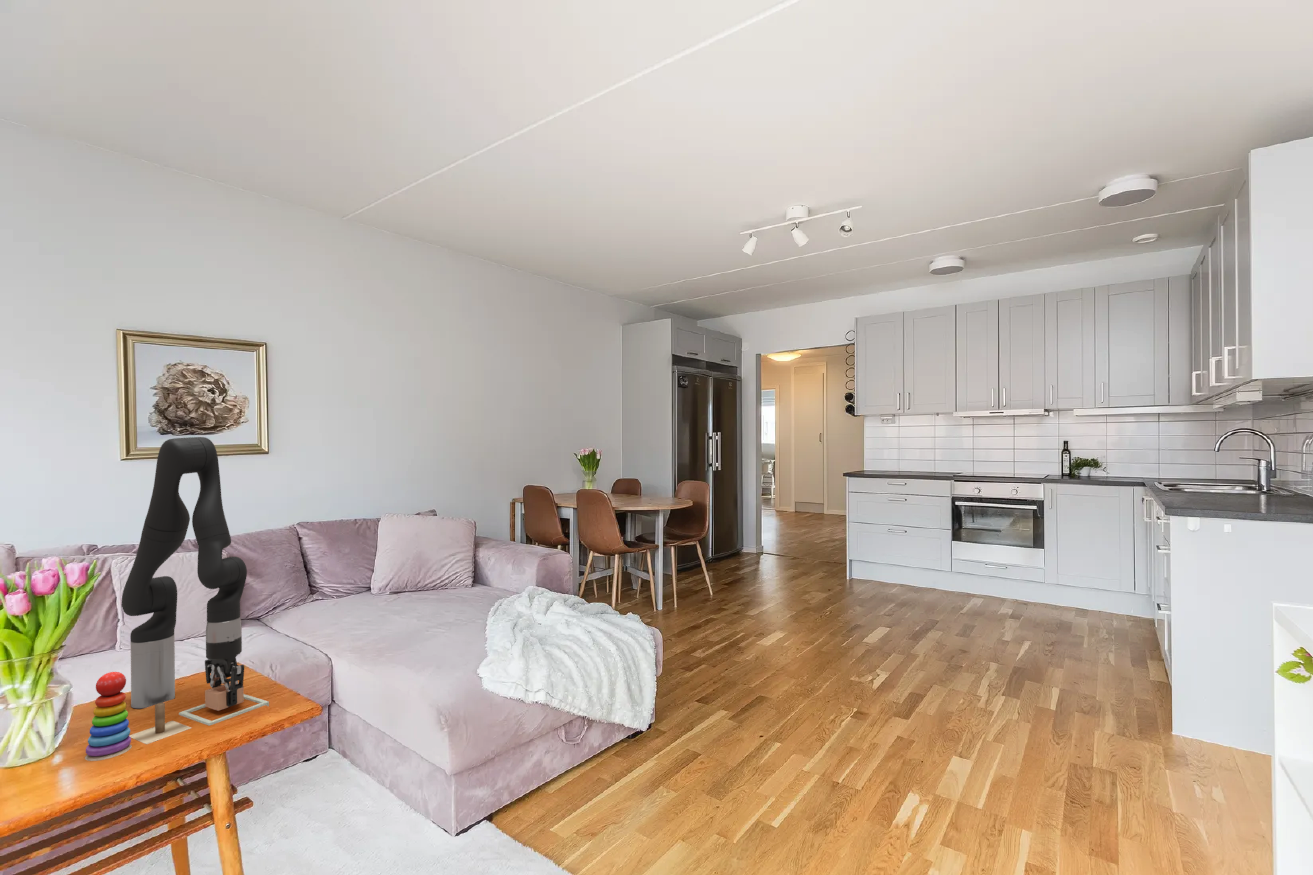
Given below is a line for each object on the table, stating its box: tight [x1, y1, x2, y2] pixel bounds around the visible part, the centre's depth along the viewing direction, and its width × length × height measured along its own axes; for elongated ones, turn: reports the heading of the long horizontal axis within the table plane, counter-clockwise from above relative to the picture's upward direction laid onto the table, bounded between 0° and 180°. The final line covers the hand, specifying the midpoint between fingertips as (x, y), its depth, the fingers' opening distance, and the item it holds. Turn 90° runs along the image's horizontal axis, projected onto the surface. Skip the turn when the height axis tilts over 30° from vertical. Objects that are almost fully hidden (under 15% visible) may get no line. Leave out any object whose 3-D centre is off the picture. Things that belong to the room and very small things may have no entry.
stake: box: [129, 702, 192, 745], centre depth 146 cm, size 9×9×8 cm
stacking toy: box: [84, 671, 132, 762], centre depth 136 cm, size 8×8×19 cm
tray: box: [178, 693, 270, 726], centre depth 158 cm, size 14×14×2 cm
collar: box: [204, 682, 245, 712], centre depth 158 cm, size 6×7×4 cm
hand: (224, 702), depth 158 cm, fingers closed on collar, 6 cm apart
